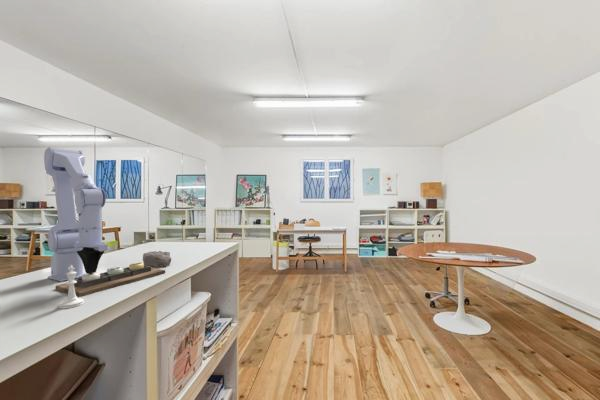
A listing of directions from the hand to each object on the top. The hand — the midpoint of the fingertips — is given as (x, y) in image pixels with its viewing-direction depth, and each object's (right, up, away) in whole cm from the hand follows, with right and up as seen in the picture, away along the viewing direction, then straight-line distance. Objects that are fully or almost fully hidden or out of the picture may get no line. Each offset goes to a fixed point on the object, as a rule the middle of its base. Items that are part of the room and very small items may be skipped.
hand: (91, 272), depth 83 cm
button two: (+3, -3, +6) cm, 8 cm away
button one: (0, -3, 0) cm, 3 cm away
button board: (+3, -4, +6) cm, 8 cm away
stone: (+7, -4, +26) cm, 27 cm away
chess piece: (+6, -4, -14) cm, 16 cm away
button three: (+6, -3, +12) cm, 14 cm away
